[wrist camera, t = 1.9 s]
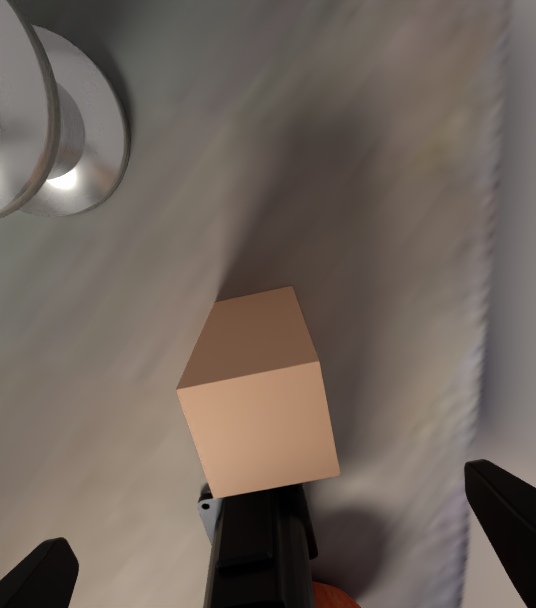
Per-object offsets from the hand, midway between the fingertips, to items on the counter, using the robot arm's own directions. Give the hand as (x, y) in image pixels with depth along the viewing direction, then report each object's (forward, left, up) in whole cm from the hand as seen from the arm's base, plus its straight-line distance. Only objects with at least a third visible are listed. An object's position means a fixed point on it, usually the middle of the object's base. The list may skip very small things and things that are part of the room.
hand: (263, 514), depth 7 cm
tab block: (0, 0, -10) cm, 10 cm away
